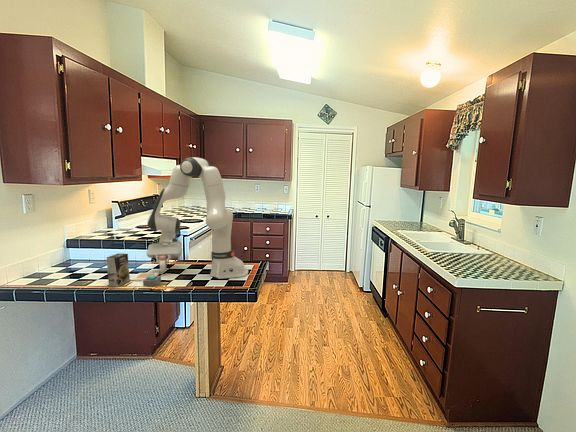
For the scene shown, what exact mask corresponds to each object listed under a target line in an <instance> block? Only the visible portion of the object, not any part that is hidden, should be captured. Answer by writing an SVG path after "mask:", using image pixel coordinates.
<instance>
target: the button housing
mask: <svg viewBox="0 0 576 432" xmlns="http://www.w3.org/2000/svg"><path fill="white" fill-rule="evenodd" d="M161 282H162V275H158V276H156V279H155V280H149V279H148V277H147V278H146V279H144V280H143V281H142V285H143V287H154V286H155V287H157V286H158V285H159V284H160V283H161Z"/></svg>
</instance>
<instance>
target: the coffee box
mask: <svg viewBox="0 0 576 432" xmlns="http://www.w3.org/2000/svg"><path fill="white" fill-rule="evenodd" d="M106 266H107V267H106V268H107V269H106V270H107V279H108V287H117V288H119V287H121V286H123V285H125V284H127V283H129V282H131V281H130V280H131V279H130V278H131V277H130V267H129V254H128V253H116V254H112V255H109V256H107V257H106Z"/></svg>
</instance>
